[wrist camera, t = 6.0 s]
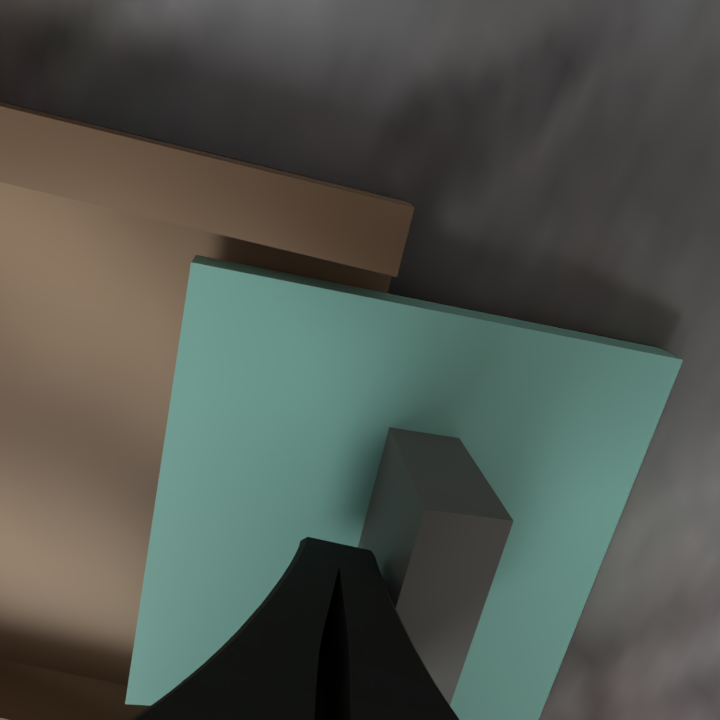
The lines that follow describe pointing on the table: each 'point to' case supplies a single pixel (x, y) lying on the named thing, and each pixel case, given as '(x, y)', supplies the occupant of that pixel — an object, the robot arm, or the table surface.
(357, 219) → the wooden tray
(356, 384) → the cover plate
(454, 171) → the table surface
